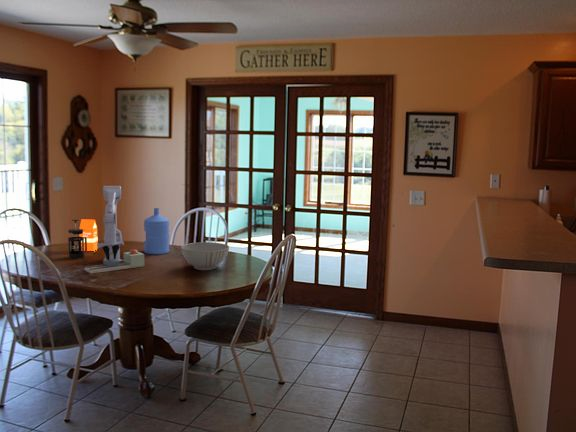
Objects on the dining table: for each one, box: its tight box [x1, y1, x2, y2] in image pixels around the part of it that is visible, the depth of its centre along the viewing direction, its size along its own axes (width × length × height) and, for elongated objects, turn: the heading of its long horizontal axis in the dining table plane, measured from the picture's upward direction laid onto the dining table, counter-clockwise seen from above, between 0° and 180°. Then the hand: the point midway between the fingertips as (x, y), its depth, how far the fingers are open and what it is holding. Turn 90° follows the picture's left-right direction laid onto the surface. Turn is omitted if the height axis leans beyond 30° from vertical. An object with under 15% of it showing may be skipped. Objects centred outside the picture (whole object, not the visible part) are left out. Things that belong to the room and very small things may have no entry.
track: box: [84, 251, 145, 274], centre depth 313 cm, size 10×30×7 cm, turn 130°
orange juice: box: [78, 218, 99, 252], centre depth 356 cm, size 8×9×20 cm
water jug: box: [143, 207, 170, 255], centre depth 356 cm, size 16×16×28 cm
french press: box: [67, 218, 88, 260], centre depth 336 cm, size 12×9×23 cm
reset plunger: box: [129, 248, 138, 254], centre depth 319 cm, size 4×4×4 cm
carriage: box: [102, 253, 120, 266], centre depth 311 cm, size 7×6×6 cm
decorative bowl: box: [180, 241, 230, 271], centre depth 319 cm, size 27×27×12 cm
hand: (111, 259), depth 311 cm, fingers closed on carriage, 3 cm apart
